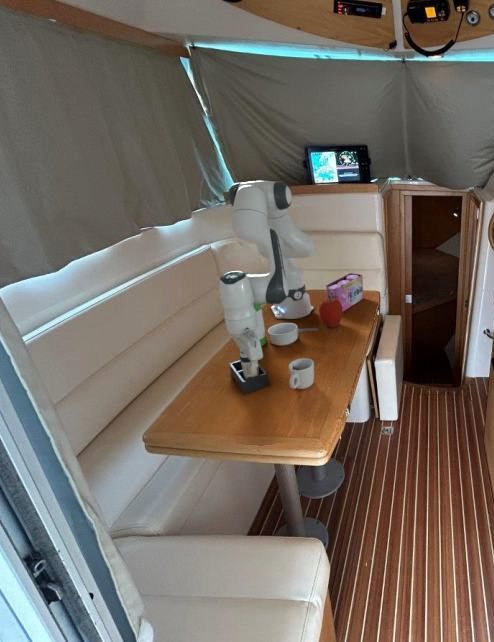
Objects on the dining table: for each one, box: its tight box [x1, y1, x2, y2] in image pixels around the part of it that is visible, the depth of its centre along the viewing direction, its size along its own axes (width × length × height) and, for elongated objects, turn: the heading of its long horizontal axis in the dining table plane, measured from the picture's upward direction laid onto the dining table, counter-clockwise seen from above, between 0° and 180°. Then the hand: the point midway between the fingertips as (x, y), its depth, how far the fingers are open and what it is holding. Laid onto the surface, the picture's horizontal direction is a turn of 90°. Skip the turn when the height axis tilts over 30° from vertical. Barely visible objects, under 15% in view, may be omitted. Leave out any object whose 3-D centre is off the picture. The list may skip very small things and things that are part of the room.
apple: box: [318, 298, 343, 328], centre depth 162 cm, size 10×10×14 cm
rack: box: [228, 359, 270, 395], centre depth 122 cm, size 15×8×5 cm, turn 43°
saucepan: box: [267, 322, 319, 346], centre depth 149 cm, size 12×20×6 cm, turn 92°
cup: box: [287, 357, 315, 390], centre depth 118 cm, size 11×8×8 cm
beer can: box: [239, 351, 260, 380], centre depth 118 cm, size 5×5×12 cm
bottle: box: [245, 272, 268, 347], centre depth 141 cm, size 8×8×30 cm
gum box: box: [325, 272, 365, 313], centre depth 185 cm, size 24×8×14 cm, turn 159°
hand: (249, 361), depth 118 cm, fingers open, 8 cm apart
